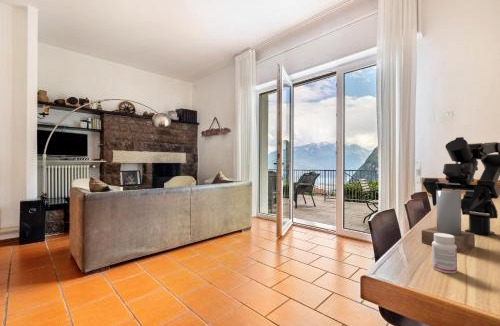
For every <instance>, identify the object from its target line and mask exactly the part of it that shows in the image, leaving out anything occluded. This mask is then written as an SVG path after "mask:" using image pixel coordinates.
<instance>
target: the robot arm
mask: <svg viewBox="0 0 500 326" xmlns="http://www.w3.org/2000/svg"><path fill="white" fill-rule="evenodd" d="M445 149H446V151H447V153H448V156H449V158H450V159H451V161H452V162H455V163H445V164H444V163H443V169H442V174H444V175H445V178H444V179H445V181H448V182H445V181H444V182H441V181H440V180H439V178H435V177H434V178H432V177H426V178H424V179H423V181H422V185H423V187H424V188H425V190H426V193H428V194H430V195H431V199H432V200H431V202H432V205H433V207H435V206H436V191H437V190H451V191H460V192H465V193H464V194H463V196H462V198H461V215H463V216H464V215H466V216H468V228H467V229H465V230H464V232H470V233H475V234H477V235H481V236H482V235H483V236H490V235H494V234H495V231H491V219H492V220H493V219H498V218H499V217H498V216H499V214H498V209H497V207H496V204H495V203H494V201H493V199H494V200H495V199H499V197H500V189H499V187H498V184H497V182H498V180H499V178H500V142H498V141H497V142H496V141H493V142H484V143H483V142H482V143H481V142H480V143H478V142H477V143H468V141H467V140H466V139H465V138H464V137H463V136H461V137H460V136H459V137H458V136H457V137H456V138H455V139H452V140H451V141H449V142H448V143H446V144H445ZM494 153H495V154H494ZM478 160H480V161H481V163H482V165H483V168H484V170H483V172H482V173H481V175H480V178H479V179H478V180H477V181H476V184H472V182H473V183H474V181H475V178H474V177H475V173H476V171H479V167H478V165H479V162H478ZM436 207H437V206H436Z"/></svg>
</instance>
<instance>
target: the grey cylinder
mask: <svg viewBox="0 0 500 326" xmlns="http://www.w3.org/2000/svg"><path fill="white" fill-rule="evenodd" d="M461 199H462V191H458V190H451V189H442V190H437V191H436V227H437V232H439V233H445V234H450V235H461V231H462V210H461Z"/></svg>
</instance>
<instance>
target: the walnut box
mask: <svg viewBox="0 0 500 326" xmlns="http://www.w3.org/2000/svg"><path fill="white" fill-rule="evenodd" d="M434 233H439V232H437V226H433V227H429V228H426V229H421V243H422V244H425V245H429V246H432V242H433V241H435V240H434ZM475 234H476V233H470V232H465V230H464V231H463V230H461V235H453V236H454V237H455V243H454V244H455V245H456V246H457V253H462V252H464V251H466V250H468V249H472V248H475V247H476V246H475V243H476V241H475V236H476V235H475Z"/></svg>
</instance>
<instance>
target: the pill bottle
mask: <svg viewBox="0 0 500 326" xmlns="http://www.w3.org/2000/svg"><path fill="white" fill-rule="evenodd" d="M434 240H435V241H433V242H432V245H431V264H432V265H431V266H432V268H433V269H435V270H436V271H439V272H441V273H446V274H456V273H457V272H458V254H457V253H458V252H457V246H456V245H455V244H454V243H455V237H454V236H453V235H450V234H445V233H434Z"/></svg>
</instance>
